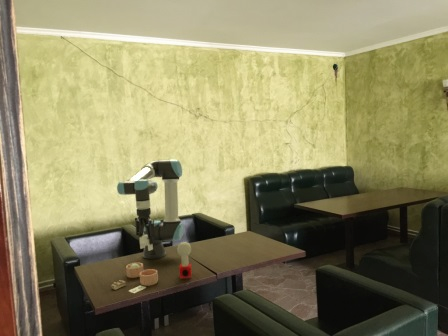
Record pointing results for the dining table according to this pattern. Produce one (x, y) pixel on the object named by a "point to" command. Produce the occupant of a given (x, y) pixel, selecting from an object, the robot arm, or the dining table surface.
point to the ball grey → (144, 240)
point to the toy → (184, 260)
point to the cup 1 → (134, 270)
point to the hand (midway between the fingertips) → (146, 248)
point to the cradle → (118, 284)
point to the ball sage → (134, 266)
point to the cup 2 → (148, 277)
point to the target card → (137, 289)
